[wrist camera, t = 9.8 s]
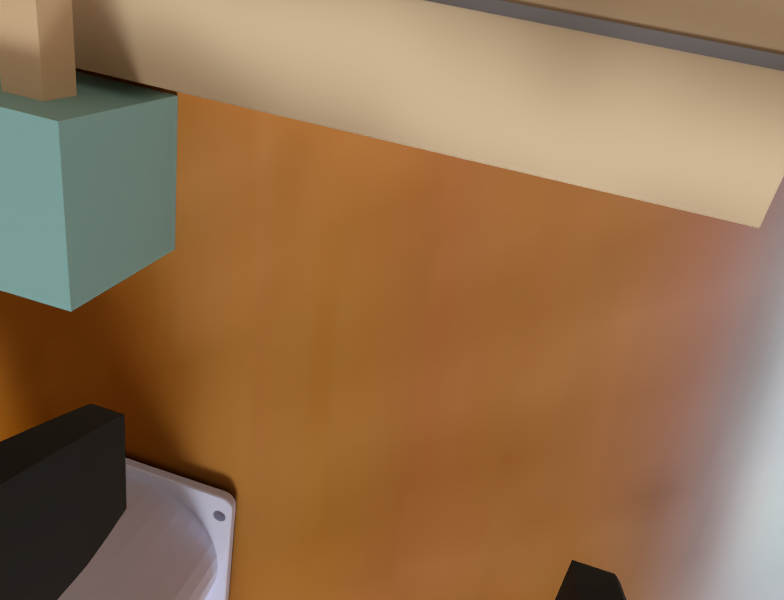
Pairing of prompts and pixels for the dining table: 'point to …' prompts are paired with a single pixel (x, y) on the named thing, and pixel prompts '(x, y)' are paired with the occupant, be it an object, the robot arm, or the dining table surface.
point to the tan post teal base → (77, 165)
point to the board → (492, 82)
